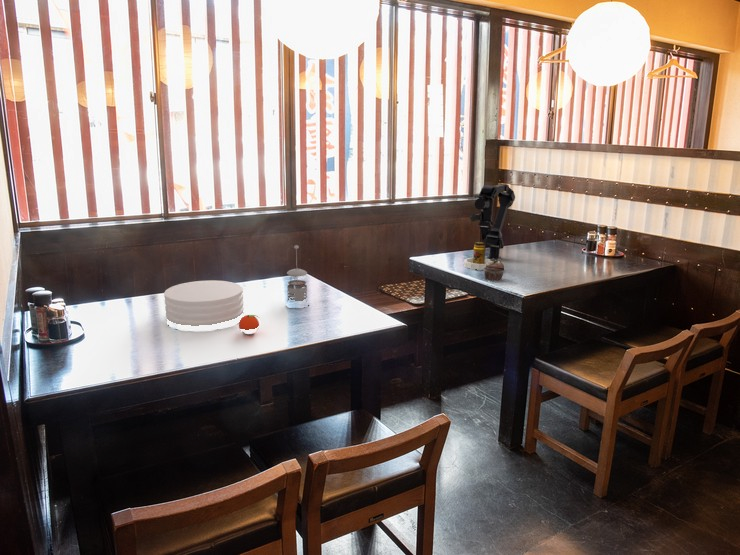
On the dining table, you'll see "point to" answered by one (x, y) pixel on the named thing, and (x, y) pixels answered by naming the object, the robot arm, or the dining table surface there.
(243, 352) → the dining table surface
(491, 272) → the cupcake
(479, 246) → the condiment
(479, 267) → the bowl
